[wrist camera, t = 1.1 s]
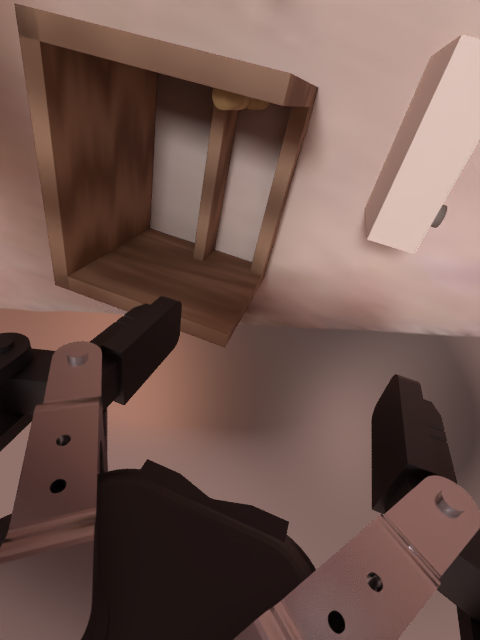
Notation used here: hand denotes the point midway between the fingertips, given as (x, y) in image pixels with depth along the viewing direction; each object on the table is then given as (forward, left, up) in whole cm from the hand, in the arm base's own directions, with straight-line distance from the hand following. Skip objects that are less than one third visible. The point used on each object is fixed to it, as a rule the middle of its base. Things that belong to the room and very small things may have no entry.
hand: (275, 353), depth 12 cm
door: (-6, +5, -20) cm, 22 cm away
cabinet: (0, -10, -20) cm, 23 cm away
